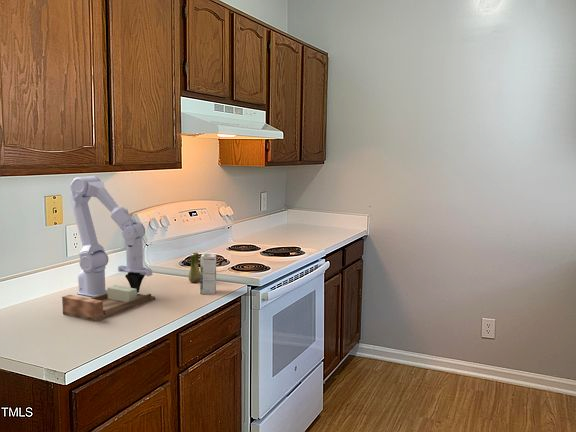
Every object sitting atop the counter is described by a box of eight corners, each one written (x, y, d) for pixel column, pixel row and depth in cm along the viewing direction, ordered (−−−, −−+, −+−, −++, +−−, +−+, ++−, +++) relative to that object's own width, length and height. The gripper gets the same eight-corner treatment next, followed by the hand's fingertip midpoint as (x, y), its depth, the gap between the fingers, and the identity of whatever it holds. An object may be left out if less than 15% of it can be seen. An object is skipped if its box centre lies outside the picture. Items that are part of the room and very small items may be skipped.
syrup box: (201, 290, 208) (200, 253, 206) (216, 290, 209) (216, 253, 207) (200, 294, 202) (199, 256, 200) (215, 294, 203) (215, 256, 201)
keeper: (107, 298, 192) (107, 287, 191) (115, 295, 195) (115, 285, 195) (129, 302, 187) (128, 291, 187) (137, 299, 191) (136, 288, 190)
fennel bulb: (192, 284, 217) (192, 255, 215) (185, 282, 220) (184, 253, 219) (203, 281, 221) (203, 253, 219) (196, 279, 224) (196, 251, 223)
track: (63, 314, 178) (62, 296, 177) (124, 293, 202) (123, 278, 202) (96, 321, 171) (95, 303, 170) (155, 299, 196) (154, 283, 195)
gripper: (111, 256, 195) (112, 292, 197) (142, 260, 188) (143, 298, 190) (125, 252, 201) (126, 288, 203) (155, 256, 195) (156, 293, 197)
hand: (135, 292), depth 197 cm, fingers closed
